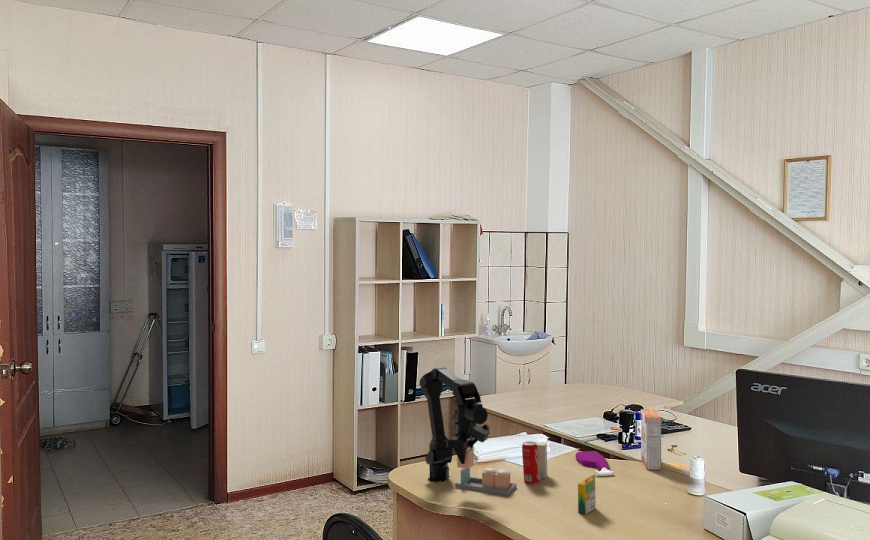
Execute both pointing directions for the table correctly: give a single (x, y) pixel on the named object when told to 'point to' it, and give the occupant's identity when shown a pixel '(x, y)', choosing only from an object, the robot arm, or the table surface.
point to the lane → (477, 486)
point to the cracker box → (651, 439)
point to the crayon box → (586, 495)
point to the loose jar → (467, 459)
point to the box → (542, 459)
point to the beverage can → (530, 463)
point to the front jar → (502, 480)
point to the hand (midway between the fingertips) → (465, 461)
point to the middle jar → (488, 477)
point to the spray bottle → (594, 462)
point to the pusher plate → (465, 475)
